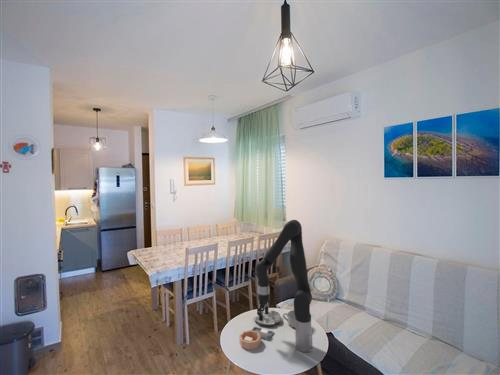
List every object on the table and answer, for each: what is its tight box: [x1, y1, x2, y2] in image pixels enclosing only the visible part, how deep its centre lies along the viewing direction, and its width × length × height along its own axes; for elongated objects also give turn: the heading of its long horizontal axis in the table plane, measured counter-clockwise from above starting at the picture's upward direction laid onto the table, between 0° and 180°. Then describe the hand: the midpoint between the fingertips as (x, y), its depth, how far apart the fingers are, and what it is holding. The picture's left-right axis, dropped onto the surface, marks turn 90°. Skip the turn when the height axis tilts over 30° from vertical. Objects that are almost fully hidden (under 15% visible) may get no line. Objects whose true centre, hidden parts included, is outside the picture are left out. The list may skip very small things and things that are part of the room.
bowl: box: [238, 329, 262, 351], centre depth 160 cm, size 12×12×5 cm
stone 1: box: [244, 336, 253, 342], centre depth 158 cm, size 4×3×4 cm
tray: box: [251, 326, 275, 342], centre depth 169 cm, size 14×9×1 cm, turn 62°
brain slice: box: [253, 310, 282, 327], centre depth 185 cm, size 20×17×3 cm
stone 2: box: [260, 328, 270, 338], centre depth 166 cm, size 4×3×4 cm
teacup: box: [282, 309, 295, 329], centre depth 179 cm, size 14×11×8 cm
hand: (263, 317), depth 166 cm, fingers open, 8 cm apart
